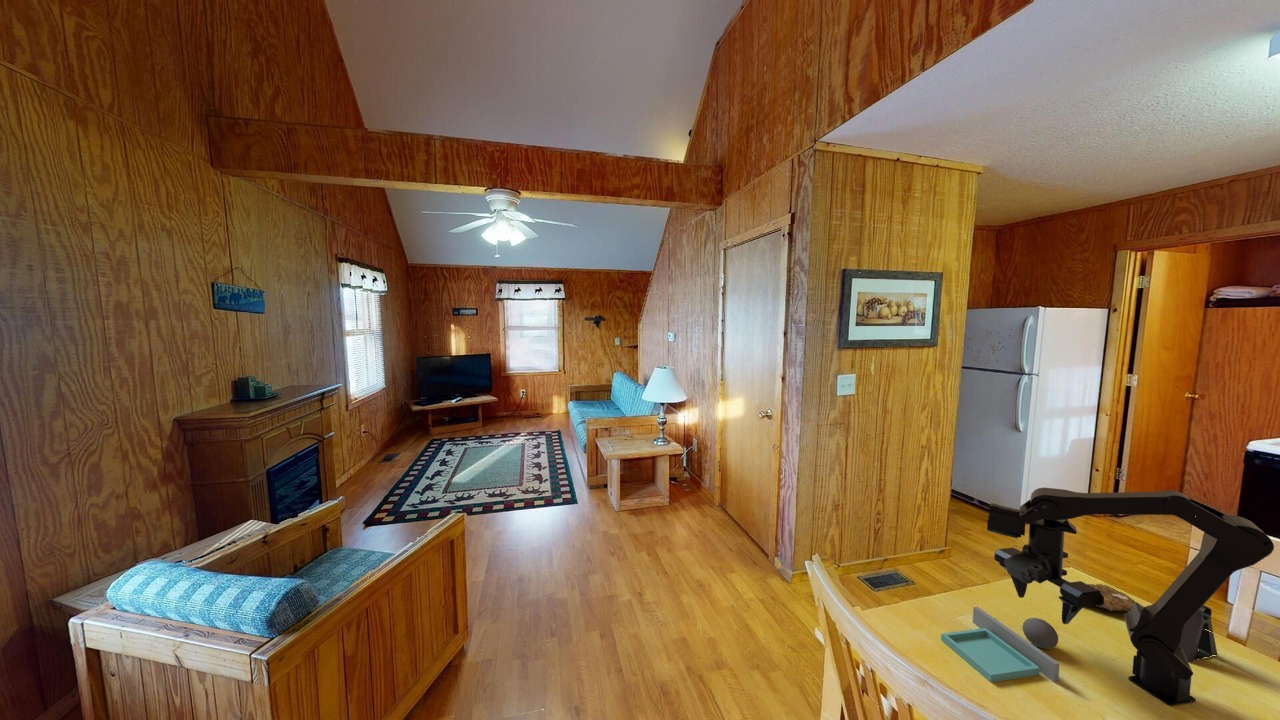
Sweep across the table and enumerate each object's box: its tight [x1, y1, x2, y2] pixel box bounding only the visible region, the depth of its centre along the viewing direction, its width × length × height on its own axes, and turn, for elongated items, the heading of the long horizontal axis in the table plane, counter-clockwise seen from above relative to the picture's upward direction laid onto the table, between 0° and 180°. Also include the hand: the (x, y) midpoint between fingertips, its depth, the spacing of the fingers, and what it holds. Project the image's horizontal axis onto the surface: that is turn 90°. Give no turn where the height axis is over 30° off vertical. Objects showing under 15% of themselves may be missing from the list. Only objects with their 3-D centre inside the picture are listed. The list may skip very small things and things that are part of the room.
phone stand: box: [1180, 604, 1218, 663], centre depth 94 cm, size 9×6×12 cm, turn 100°
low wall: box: [972, 606, 1061, 683], centre depth 95 cm, size 18×1×4 cm, turn 8°
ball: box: [1022, 617, 1059, 650], centre depth 96 cm, size 6×6×6 cm
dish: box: [940, 627, 1040, 683], centre depth 93 cm, size 12×12×2 cm
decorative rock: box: [1086, 583, 1136, 613], centre depth 110 cm, size 11×4×15 cm
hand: (1042, 609), depth 95 cm, fingers open, 9 cm apart
